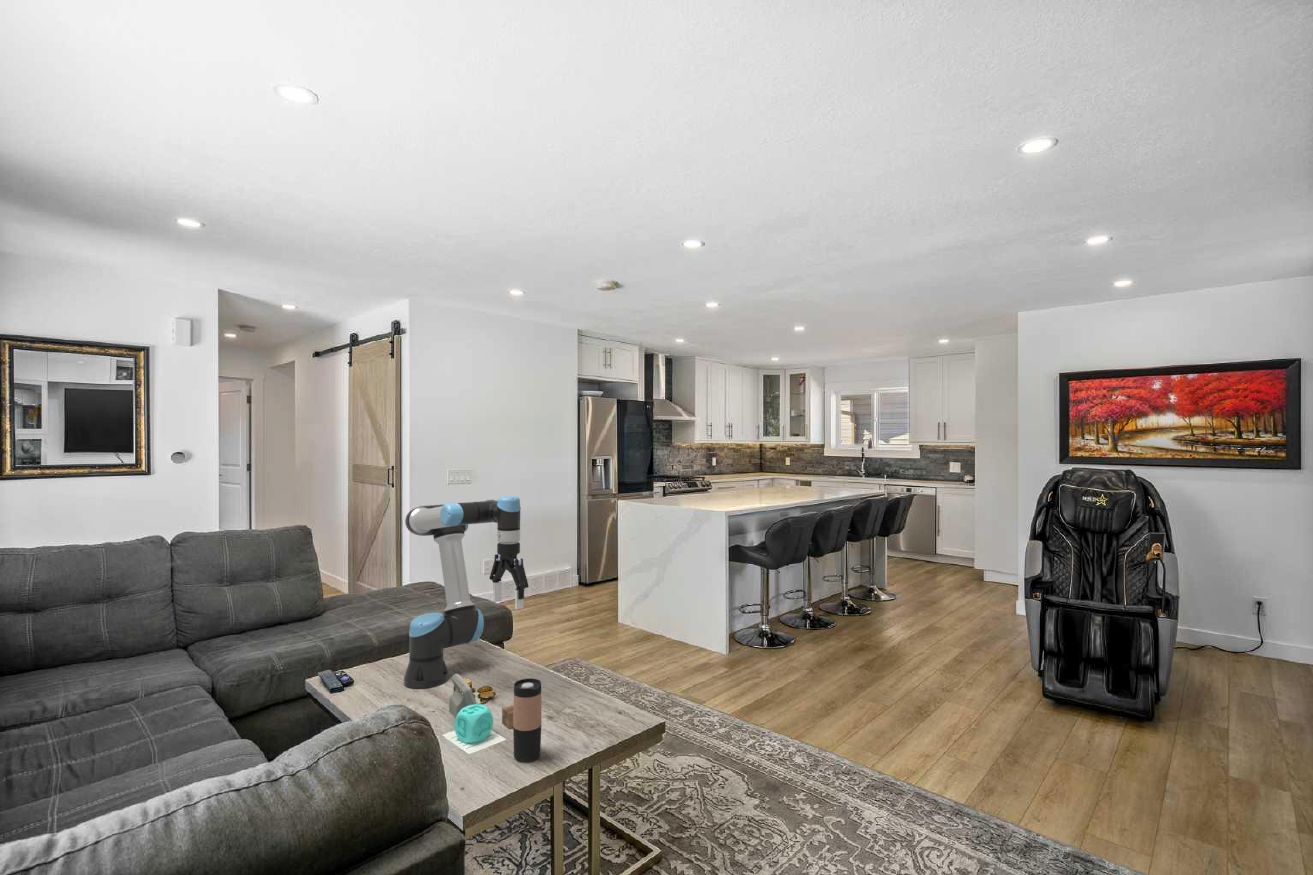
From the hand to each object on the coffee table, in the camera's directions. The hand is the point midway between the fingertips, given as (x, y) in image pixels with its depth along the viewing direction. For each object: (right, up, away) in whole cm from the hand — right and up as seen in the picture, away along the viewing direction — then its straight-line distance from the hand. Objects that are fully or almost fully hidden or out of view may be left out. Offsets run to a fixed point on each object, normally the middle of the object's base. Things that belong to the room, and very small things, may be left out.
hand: (508, 605), depth 208 cm
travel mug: (+15, -32, -38) cm, 52 cm away
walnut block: (+6, -32, -19) cm, 37 cm away
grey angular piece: (-11, -32, -11) cm, 35 cm away
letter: (-3, -31, -28) cm, 42 cm away
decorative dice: (-3, -31, -28) cm, 42 cm away
